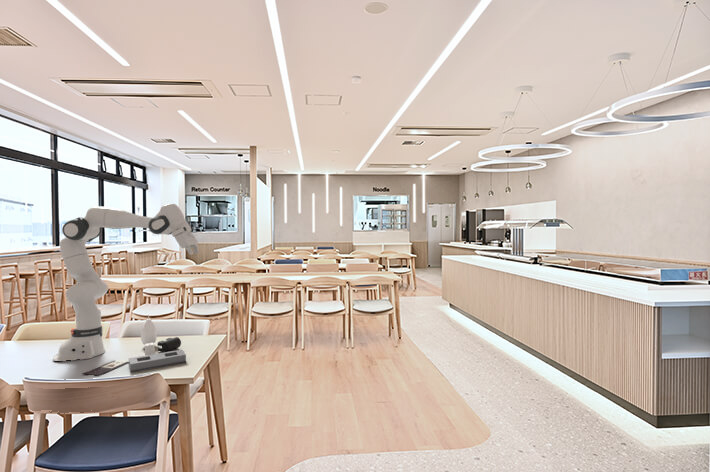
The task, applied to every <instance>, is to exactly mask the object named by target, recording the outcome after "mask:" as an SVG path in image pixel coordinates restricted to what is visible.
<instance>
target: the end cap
mask: <svg viewBox="0 0 710 472" xmlns="http://www.w3.org/2000/svg"><path fill="white" fill-rule="evenodd" d="M181 345H182V340H181V339H180V338H179V336H174V337H168V338H166V339H165V340H159V341H157V354H158V353H164V352H170V351H176V350H179V348H180V347H181Z"/></svg>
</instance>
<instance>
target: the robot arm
mask: <svg viewBox="0 0 710 472" xmlns="http://www.w3.org/2000/svg"><path fill="white" fill-rule="evenodd" d="M103 228H105V229H111V230H121V229H124V230H125V229H132V228H143V229H149V231H150V233H152V234H154V235H167V236H169V235H172V237H173V238H174V239H175V241H176V242H177V244H178V245H179V247H180V248H181V249H185V250H186V251H187V252H188V255H191V256H192V255H194V254H196V255H197V254H199V253H200V251H199V249H198V245H199V242H198V240H197V238H196V237H195V235H194V234H193V233H192V228H191V226H190V224H189V223H188V221H187V220H186V219H185V215H184V213H183V212H182V210H181V209H180V207H179V206H178V205H177V204H175V203H167V204H164V205H162V206H161V207H160V209H159V211H158V212H157V213H156V215H154V216H153V217H149V216H142V215H139V214H135V213H132V212H129V211H127V210H123V209H120V208H115V207H109V206H108V207H107V206H91V208H90V207H89V209H87V211H86V214H85V216H84V217H82V216H79V217H77V218H74V219H71V220H68V221H66V222H65V223H64V224H63V226H62V228H61V229H62V234H63V236H64V237H63V238H62V239H61V240H60V242H59V248H60V254H61V257H62V261H63V263H64V265H65V269H66V272H67V274H68V276H71V277H72V278H73V279H74V280H75V281H76V283H74V284H73V285H71V286H69V287H68V289H66V291H65V298H66V300H67V301H68V302H69V303H70V304H71V305H72V308H73V312H74V314H75V328H71V329H70V334H71V337H70V338H68V339H67V340H66V341H64V342H63V343H62V344H60V347H58V348H59V349H58V352H57V354H55V355H54V356H53V358H52V361H53V360H54V361H63V362H67V361H66V360H71V361H77V360H76V359H80V360H87V359H88V360H89V359H92V358H95V357H96V356H100V355H102V354H105V353H106V348H105V347H104V341H103V335H104V334H103V325H102V312H101V310H100V309H99V308H98V306H97V304H96V300H98V299H100V298H102V297H104V296H105V295H106V294H107V293H108V290H109V285H108V283H107V282H106V281H105V280H103V279H102V278H101V277H100V276H99V274H98V272H97V271H96V270H95V267H94V266H93V265H92V261H91V259H90V256H89V254H88V251H87V248H86V243H91V242H92V241H93V240H96V239H97V238H98V237H99V236H100V235H102V233H103ZM54 361H53V362H54Z"/></svg>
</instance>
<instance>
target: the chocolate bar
mask: <svg viewBox="0 0 710 472" xmlns="http://www.w3.org/2000/svg"><path fill="white" fill-rule="evenodd" d="M126 365H129V361H124V360H121V361H120V360H112V361H110V362H107V363H105V364H102V365H101V366H98V367H95V368H93V369H90V370H87V371H85V372H83V373H82V374H84V375H83V376H88V375H94V376H93V377H101V376H103V375H105V374H107V373H110V372H112V371H113V370H116V369H118V368H121V367H123V366H126ZM102 374H103V375H102ZM100 375H101V376H100Z"/></svg>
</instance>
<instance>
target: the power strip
mask: <svg viewBox="0 0 710 472" xmlns="http://www.w3.org/2000/svg"><path fill="white" fill-rule="evenodd" d="M128 362H129V363H128V369H129V373H130V374H132V373H137V372H143V371H149V370H153V369H159V368H164V367H169V366H175V365H180V364H186V363H187V354H186V353H185V352H184V350H183V349H176V350H174V351H170V352H164V353H158V352H157V353H155V354H152V355H146V356H145V355H141V356H133V357H129V358H128Z"/></svg>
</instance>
